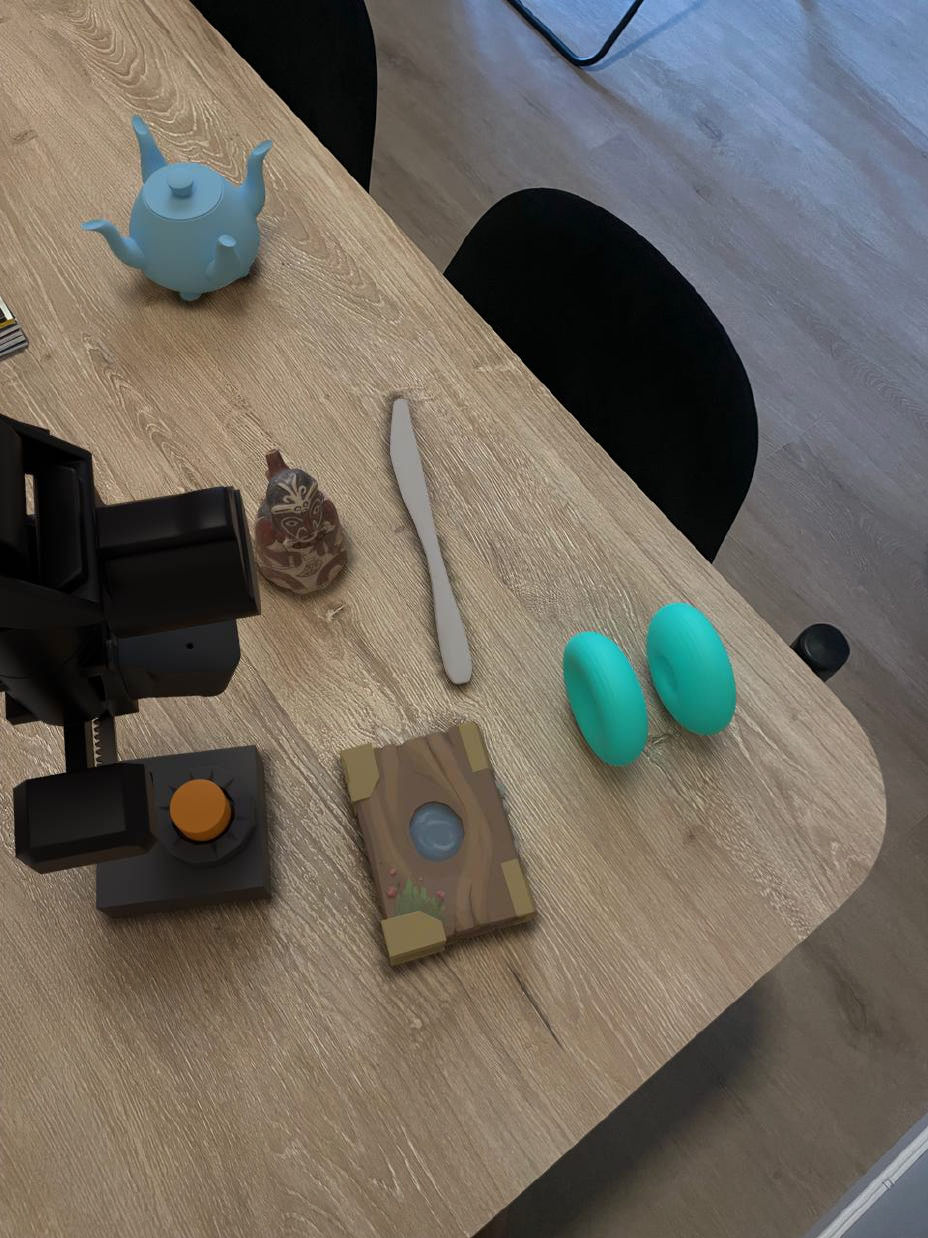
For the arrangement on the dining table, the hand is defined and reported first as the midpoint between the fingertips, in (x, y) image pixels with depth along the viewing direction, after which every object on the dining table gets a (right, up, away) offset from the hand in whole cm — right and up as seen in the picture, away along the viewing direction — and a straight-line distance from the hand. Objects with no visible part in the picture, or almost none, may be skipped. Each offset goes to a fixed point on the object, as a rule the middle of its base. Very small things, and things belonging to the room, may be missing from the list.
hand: (118, 731), depth 62 cm
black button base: (0, -9, +15) cm, 18 cm away
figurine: (+7, +12, +25) cm, 29 cm away
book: (+18, -10, +16) cm, 26 cm away
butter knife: (+17, +13, +26) cm, 34 cm away
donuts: (+33, 0, +21) cm, 39 cm away
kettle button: (+2, -7, +10) cm, 12 cm away
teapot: (-5, +39, +37) cm, 54 cm away
